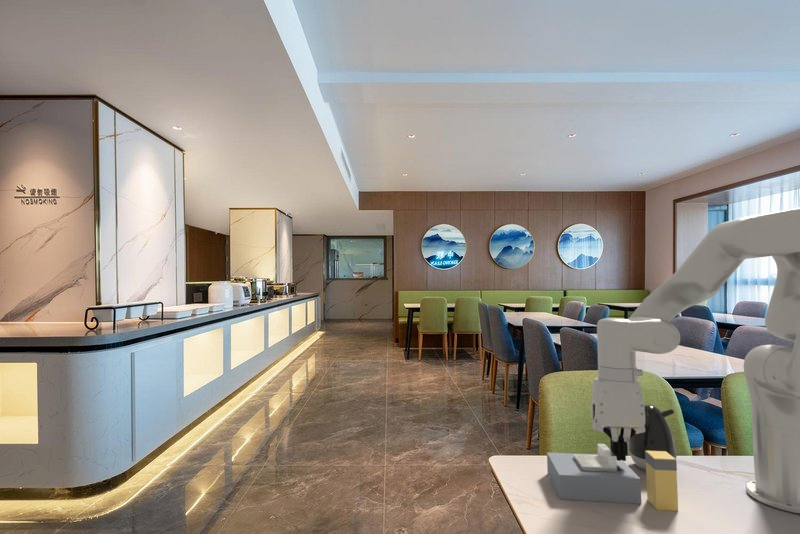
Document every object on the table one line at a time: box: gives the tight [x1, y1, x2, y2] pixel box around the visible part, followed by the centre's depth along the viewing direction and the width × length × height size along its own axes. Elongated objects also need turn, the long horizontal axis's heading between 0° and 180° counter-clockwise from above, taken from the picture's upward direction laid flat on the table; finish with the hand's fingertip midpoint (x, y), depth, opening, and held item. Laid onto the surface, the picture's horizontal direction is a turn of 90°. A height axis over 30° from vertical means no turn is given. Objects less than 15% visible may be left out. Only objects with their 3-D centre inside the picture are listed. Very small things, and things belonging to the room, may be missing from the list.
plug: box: [645, 451, 679, 512], centre depth 85 cm, size 4×4×10 cm
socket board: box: [546, 452, 642, 505], centre depth 92 cm, size 16×12×5 cm
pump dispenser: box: [627, 404, 677, 471], centre depth 102 cm, size 10×10×15 cm
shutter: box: [572, 443, 617, 472], centre depth 92 cm, size 7×7×3 cm
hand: (619, 458), depth 92 cm, fingers closed
